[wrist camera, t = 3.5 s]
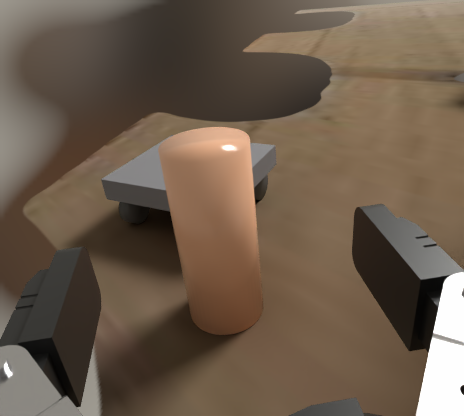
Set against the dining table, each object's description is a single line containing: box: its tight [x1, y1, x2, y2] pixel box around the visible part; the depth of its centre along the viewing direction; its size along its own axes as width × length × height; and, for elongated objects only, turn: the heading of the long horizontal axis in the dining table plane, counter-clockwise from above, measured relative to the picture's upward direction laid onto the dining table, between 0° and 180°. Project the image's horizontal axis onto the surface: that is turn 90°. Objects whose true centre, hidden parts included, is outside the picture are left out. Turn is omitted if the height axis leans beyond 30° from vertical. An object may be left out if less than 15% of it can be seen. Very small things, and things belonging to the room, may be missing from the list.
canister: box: [158, 127, 263, 335], centre depth 26 cm, size 5×5×12 cm
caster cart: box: [101, 135, 276, 224], centre depth 40 cm, size 11×12×5 cm
